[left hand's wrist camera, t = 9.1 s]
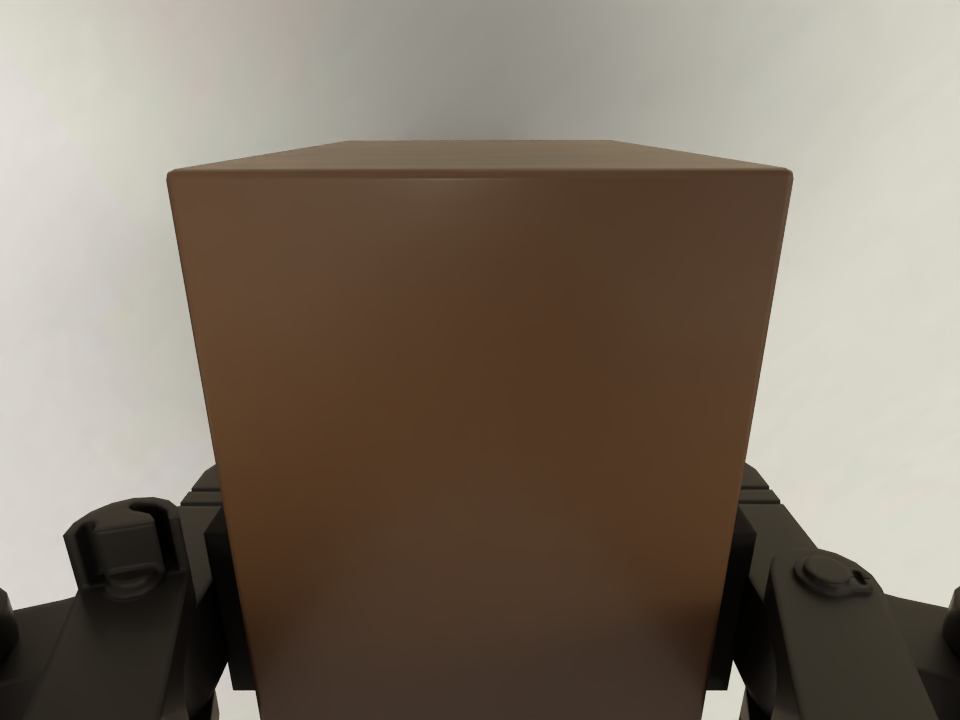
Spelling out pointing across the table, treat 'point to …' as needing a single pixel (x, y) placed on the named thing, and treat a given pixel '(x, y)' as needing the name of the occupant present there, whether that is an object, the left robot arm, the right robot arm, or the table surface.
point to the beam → (480, 417)
